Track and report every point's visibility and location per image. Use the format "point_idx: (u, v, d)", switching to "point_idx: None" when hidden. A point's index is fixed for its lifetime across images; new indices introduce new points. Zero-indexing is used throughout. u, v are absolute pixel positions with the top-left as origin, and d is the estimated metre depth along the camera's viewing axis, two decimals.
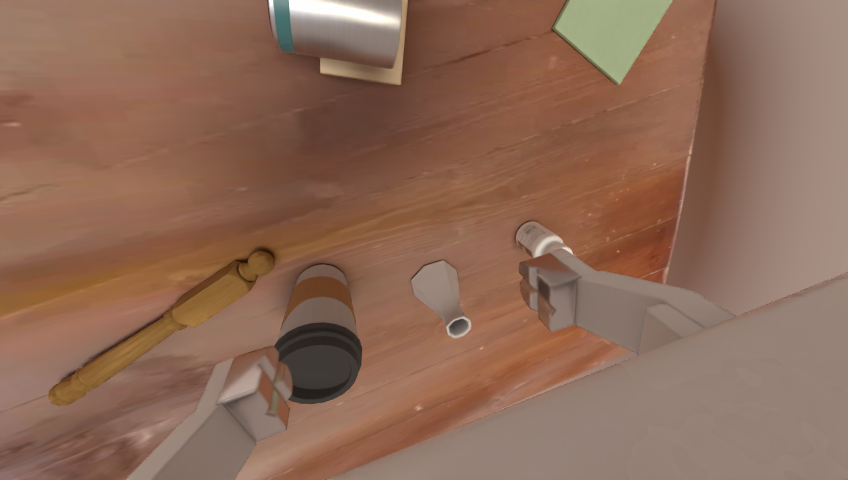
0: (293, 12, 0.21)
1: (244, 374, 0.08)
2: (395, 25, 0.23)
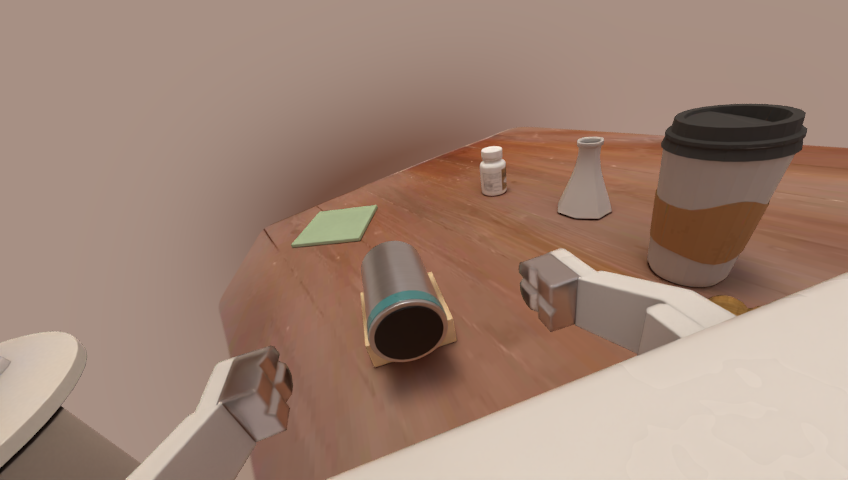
0: (407, 288, 0.23)
1: (244, 374, 0.08)
2: (388, 243, 0.28)
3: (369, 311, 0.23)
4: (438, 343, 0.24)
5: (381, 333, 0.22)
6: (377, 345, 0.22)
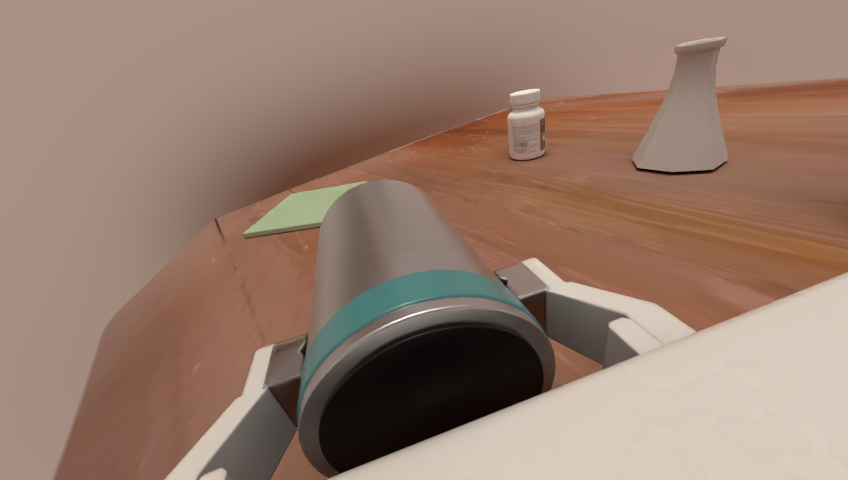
0: (427, 265, 0.07)
1: (286, 360, 0.08)
2: (374, 183, 0.13)
3: (308, 344, 0.07)
4: None
5: (341, 423, 0.06)
6: (334, 459, 0.07)
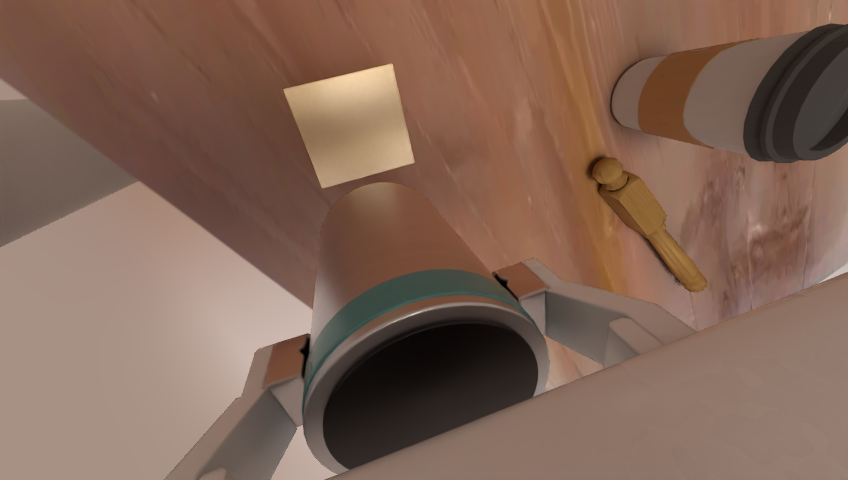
0: (427, 265, 0.07)
1: (286, 360, 0.08)
2: (374, 185, 0.13)
3: (312, 341, 0.07)
4: None
5: (345, 416, 0.06)
6: (337, 452, 0.07)
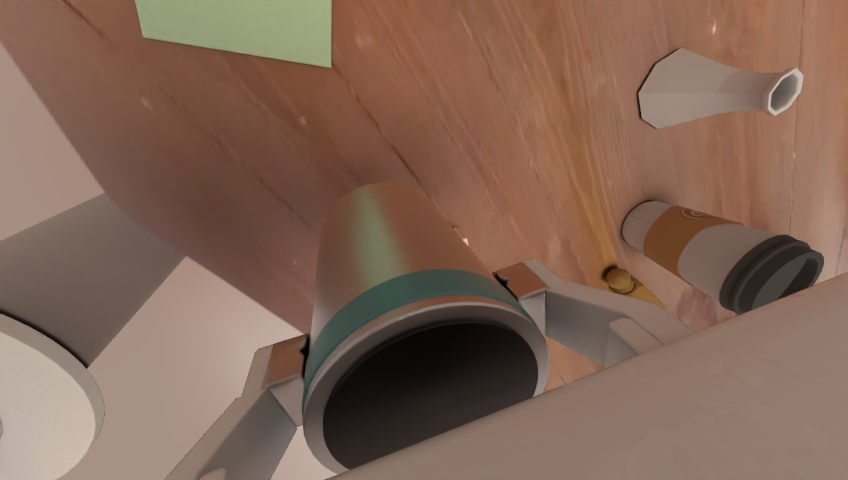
0: (427, 264, 0.07)
1: (286, 360, 0.08)
2: (374, 185, 0.13)
3: (312, 341, 0.07)
4: None
5: (344, 416, 0.06)
6: (337, 452, 0.07)
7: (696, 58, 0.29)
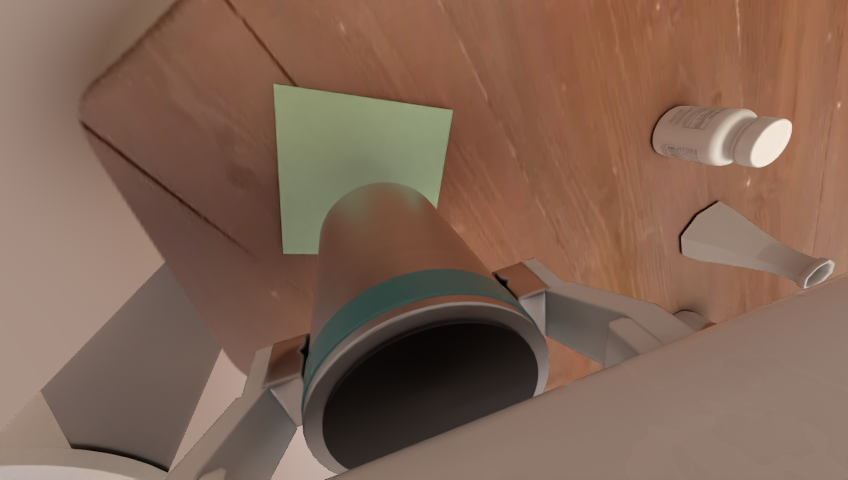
0: (427, 264, 0.07)
1: (286, 360, 0.08)
2: (374, 185, 0.13)
3: (312, 341, 0.07)
4: None
5: (344, 416, 0.06)
6: (336, 452, 0.07)
7: (735, 217, 0.33)
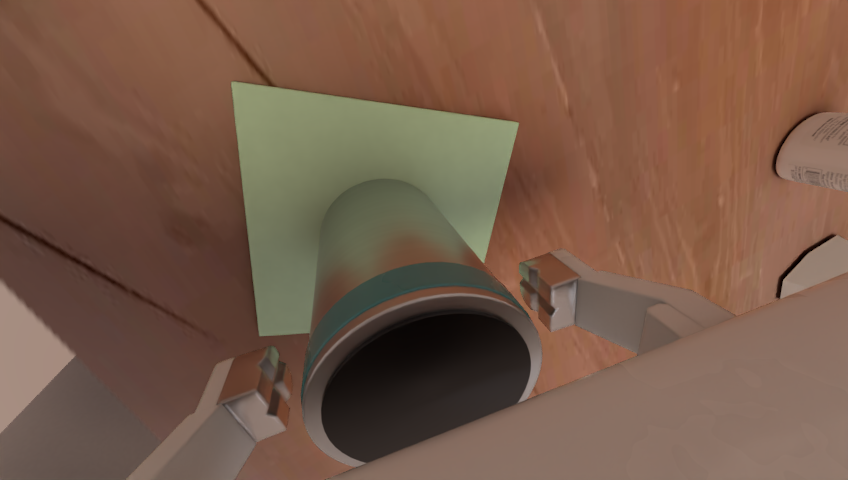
0: (423, 258, 0.07)
1: (244, 374, 0.08)
2: (374, 182, 0.14)
3: (311, 331, 0.08)
4: None
5: (342, 402, 0.07)
6: (335, 438, 0.07)
7: None
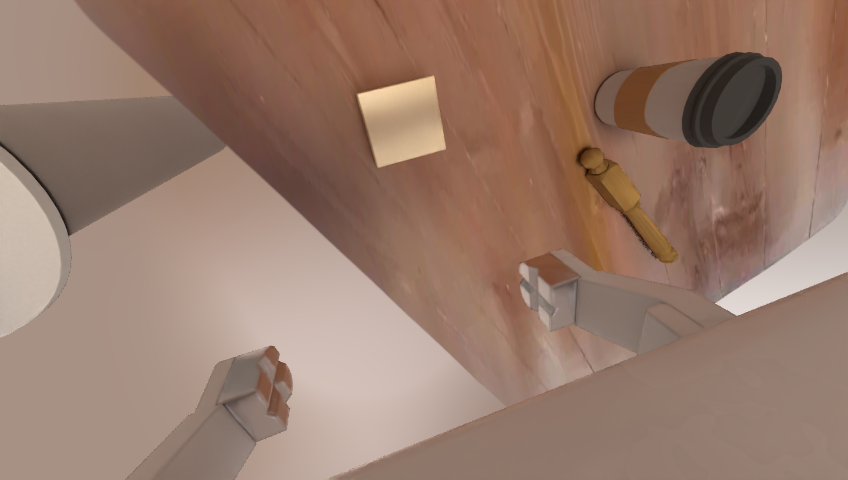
0: None
1: (244, 374, 0.08)
2: None
3: None
4: None
5: None
6: None
7: None
